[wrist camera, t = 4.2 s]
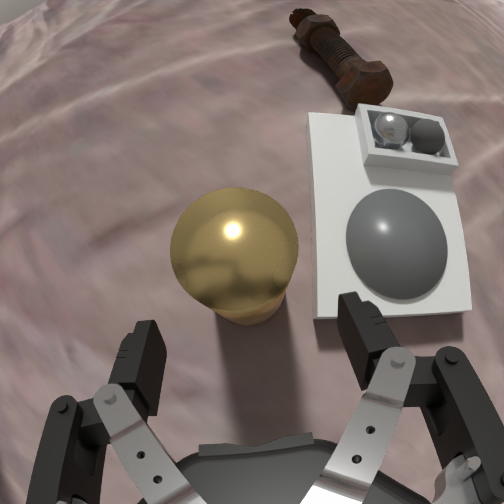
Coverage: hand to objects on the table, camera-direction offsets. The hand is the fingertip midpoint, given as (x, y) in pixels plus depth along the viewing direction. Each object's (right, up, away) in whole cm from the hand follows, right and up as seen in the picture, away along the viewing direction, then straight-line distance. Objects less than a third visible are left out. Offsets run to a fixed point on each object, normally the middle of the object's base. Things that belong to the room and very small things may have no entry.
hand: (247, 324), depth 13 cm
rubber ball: (+14, +12, +8) cm, 20 cm away
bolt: (+9, +23, +15) cm, 29 cm away
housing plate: (+11, +6, +10) cm, 16 cm away
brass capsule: (0, +1, +8) cm, 9 cm away
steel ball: (+11, +12, +8) cm, 18 cm away
